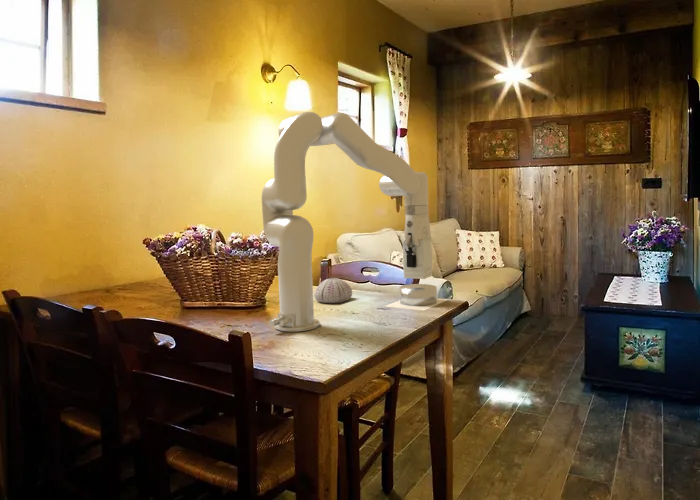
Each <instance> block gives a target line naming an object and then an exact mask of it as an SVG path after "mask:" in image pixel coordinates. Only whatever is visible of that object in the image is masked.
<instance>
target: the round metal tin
mask: <svg viewBox="0 0 700 500" xmlns="http://www.w3.org/2000/svg"><path fill="white" fill-rule="evenodd" d="M437 288H438V287H437V286H436V285H433V284H428V283H427V284H426V283H424V284H423V283H412V284H411V283H410V284H404V285H401V286H399V300H400V304H403V305H407V306H429V305H434V304H436V303H437V299H438V296H437V294H438V293H437V291H438V289H437Z"/></svg>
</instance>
